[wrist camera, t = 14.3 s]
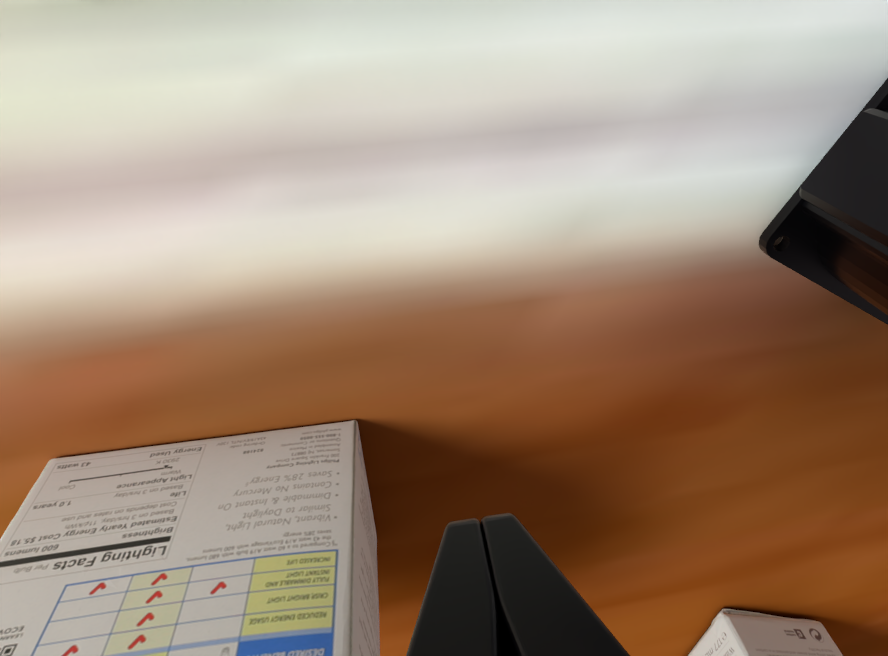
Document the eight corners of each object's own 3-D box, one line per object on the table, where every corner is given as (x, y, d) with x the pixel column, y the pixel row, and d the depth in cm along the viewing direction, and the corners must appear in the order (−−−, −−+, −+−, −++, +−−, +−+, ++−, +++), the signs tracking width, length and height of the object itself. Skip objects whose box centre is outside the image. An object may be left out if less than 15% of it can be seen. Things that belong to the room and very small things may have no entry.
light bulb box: (112, 582, 25) (-39, 955, 16) (41, 452, 21) (-206, 832, 12) (386, 544, 25) (396, 884, 16) (360, 410, 22) (353, 745, 13)
